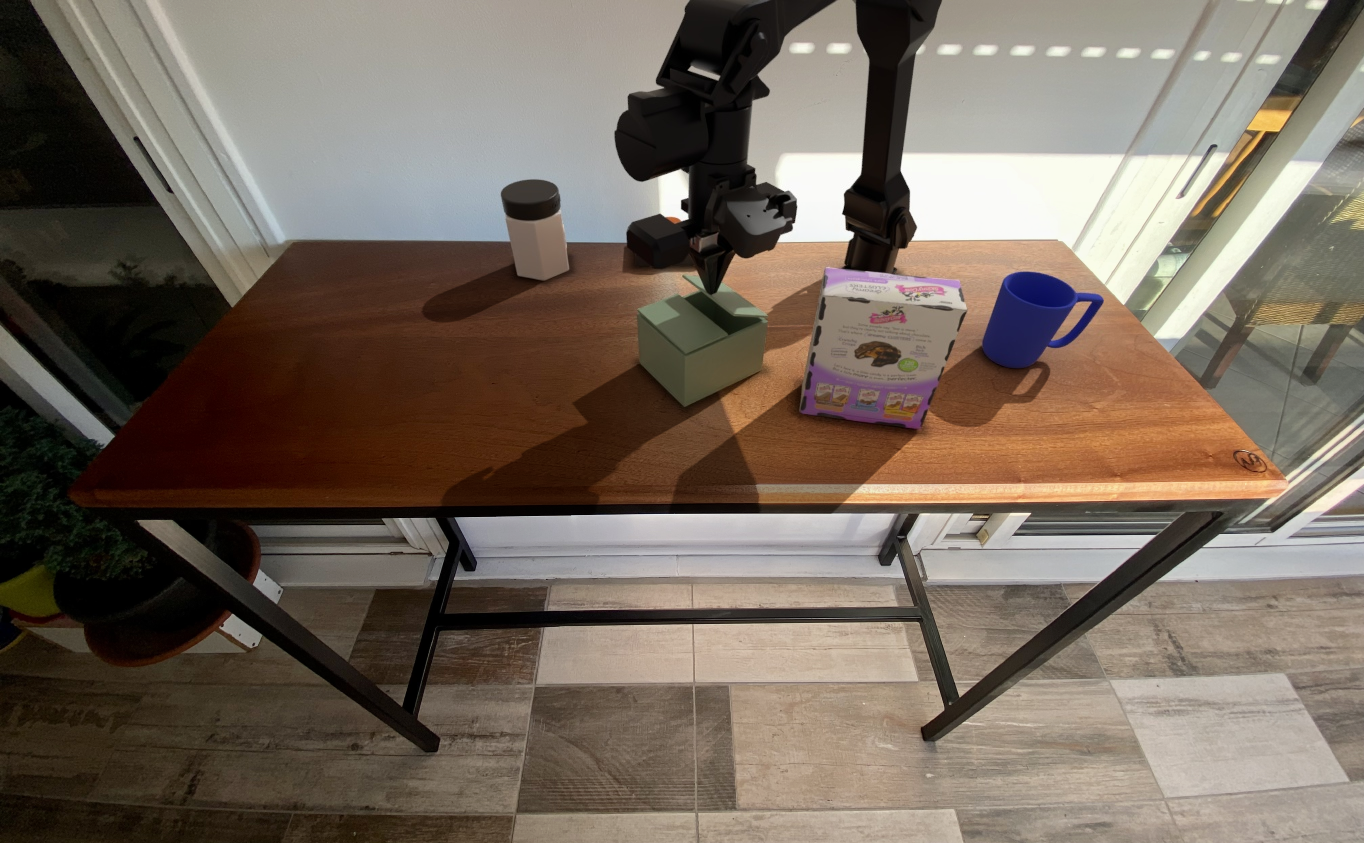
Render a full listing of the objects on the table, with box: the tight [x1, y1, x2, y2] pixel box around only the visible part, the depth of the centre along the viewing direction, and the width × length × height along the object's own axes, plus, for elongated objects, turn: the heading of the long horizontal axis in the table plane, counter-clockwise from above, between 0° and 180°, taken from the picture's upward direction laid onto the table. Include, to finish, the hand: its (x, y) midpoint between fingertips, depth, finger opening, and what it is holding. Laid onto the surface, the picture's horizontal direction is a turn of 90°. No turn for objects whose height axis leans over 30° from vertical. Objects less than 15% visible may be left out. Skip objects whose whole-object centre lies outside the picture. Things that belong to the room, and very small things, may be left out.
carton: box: [636, 289, 769, 408], centre depth 73 cm, size 12×10×8 cm
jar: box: [500, 178, 570, 282], centre depth 88 cm, size 9×8×12 cm
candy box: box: [799, 266, 968, 430], centre depth 65 cm, size 14×6×16 cm, turn 78°
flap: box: [681, 274, 769, 319], centre depth 70 cm, size 6×10×1 cm, turn 35°
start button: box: [665, 216, 682, 223], centre depth 92 cm, size 4×4×2 cm
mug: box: [981, 270, 1105, 369], centre depth 74 cm, size 8×12×10 cm
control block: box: [634, 253, 695, 267], centre depth 94 cm, size 11×8×4 cm
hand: (711, 292), depth 69 cm, fingers closed
